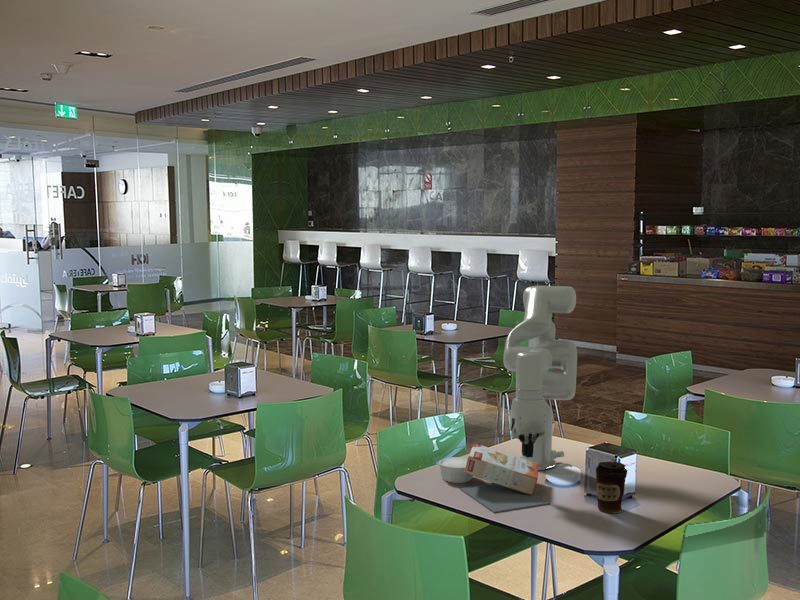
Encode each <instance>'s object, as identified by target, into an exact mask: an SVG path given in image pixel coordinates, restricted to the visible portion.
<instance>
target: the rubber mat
mask: <svg viewBox="0 0 800 600" xmlns="http://www.w3.org/2000/svg"><path fill="white" fill-rule="evenodd" d="M459 490H460V491H462V492H463V493H464V492H465V493H464V494H466V495H467V496H469V497H470V498H472V499H473V500H475V502H477V503H479V504H480V505H481V506H483V507H485V508H486V509H487V510H489V511H490V512H492V513H493V514H496V513H497V514H498V513H503V511H504V512H509V511H514V510H522V509H529V508H534V507H535V508H536V507H540V506H546V505H547V504H548V505H551V504H550V503H551V502H549V501H547V500H546V499H544V498H543V497H541V496H539V495H537V494H536V493H535V492H534V493H533V495H529V494H526V493H523V492H520V491H517V490H514V489H511V488H508V487H505V486H502V485H499V484H496V483H489V484H488V483H487V484H481V485H475V486H467V487H460V489H459Z"/></svg>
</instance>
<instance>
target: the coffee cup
mask: <svg viewBox="0 0 800 600" xmlns="http://www.w3.org/2000/svg"><path fill="white" fill-rule="evenodd" d="M625 467H626V465H625V464H624V463H622V462H620V461H599V462H598V465H597V466H596V467H595V474H596V476H595V477H596V479H595V480H596V498H597V509H598V511H601V512H604V513H608V514H618V513H620V514H621V512H623V509H622V501H623V497H624V495H625V486H626V478H627V475H628V469H627V468H625Z"/></svg>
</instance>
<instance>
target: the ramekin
mask: <svg viewBox="0 0 800 600" xmlns="http://www.w3.org/2000/svg"><path fill="white" fill-rule="evenodd" d="M467 460H468V458H467V457H461V456H459V457H458V456H456V457H451V456H450V457H446V458H442V459H440V460H439V462H438V466H439V469H440V476H441V479H442V480H443V481H445V482H447V481H448V482H447V483H451V482H452V483H453V484H464V483H468V482H471V480H472V479H473V477H474V476H472V475H469V474H466V473H464V472H465V468H466V464H467Z"/></svg>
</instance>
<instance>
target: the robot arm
mask: <svg viewBox="0 0 800 600" xmlns="http://www.w3.org/2000/svg"><path fill="white" fill-rule="evenodd" d="M522 301H523V308H524V317H523V321H521V322H520V323H519V324H517V325H516V326H515V327H514V328H512V329H511V330H510V331H509V333H508V335H507V336H506V340H505V345H504V351H503V363H502V364H503V366H504V367H505V369H506V370H507V371H509V372H516V373H515V397H514V398H513V399H512V402H511V406H510V410H509V411H510V413H509V421H508V424H509V425H508V429H509V431H511V433H510V436H511V438H513V439H517V440H519V441H520V442H521V456H520V457H519V458H522V459H525V460H528V461H531V462H534V463H537V464H539V466H538V471H546V470H545V469H546V468H547V467H549V466H553V465H556V466H557V461H556V459H557V458H563V457H565V452H564V450H560V451H556V450H555V449H552V448H553V447H552V442H553V441H552V440H553V410H552V408H551V407H550V405H549V404H548V403H547V401H546V400H553V401H554V400H557V401H571V400H572V399H574V397H575V394H576V390H577V389H576V388H577V371H578V350H577V346H576V343H575V342H573V341H572V340H570V339H560V338H559V339H558V338H557V339H556V330H557V329H556V325H555V323H554V322H553V320H552V319H553V317H552V316H553V314H554V313H556V314H557V313H559V314H560V313H561V314H571V313H572V312H573V311H574V309H575V308H576V306H577V305H576V304H577V293H576V290H575V289H574V287H572V286H566V285H565V286H561V285H557V286H556V285H532V286H528V287H526V288H525V289H524V291H523V294H522ZM526 341H528V346H519V345H520V344H521V343H524V342H526Z"/></svg>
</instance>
